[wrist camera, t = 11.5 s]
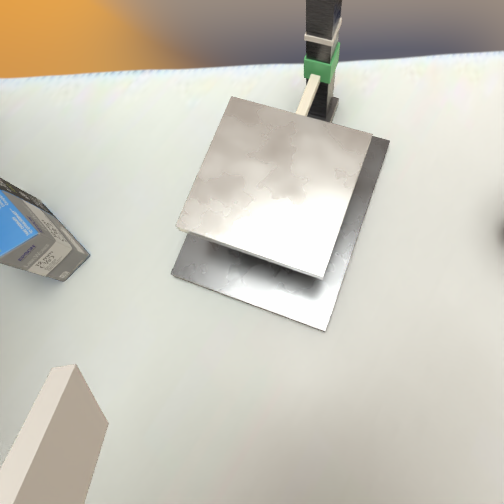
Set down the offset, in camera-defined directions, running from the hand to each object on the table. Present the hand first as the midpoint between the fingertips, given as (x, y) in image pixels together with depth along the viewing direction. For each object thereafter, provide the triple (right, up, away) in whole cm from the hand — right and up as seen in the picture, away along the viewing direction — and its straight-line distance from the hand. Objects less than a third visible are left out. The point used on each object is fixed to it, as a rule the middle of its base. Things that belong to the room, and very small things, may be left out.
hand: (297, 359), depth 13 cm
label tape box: (-22, +4, +31) cm, 38 cm away
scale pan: (+2, +9, +28) cm, 29 cm away
